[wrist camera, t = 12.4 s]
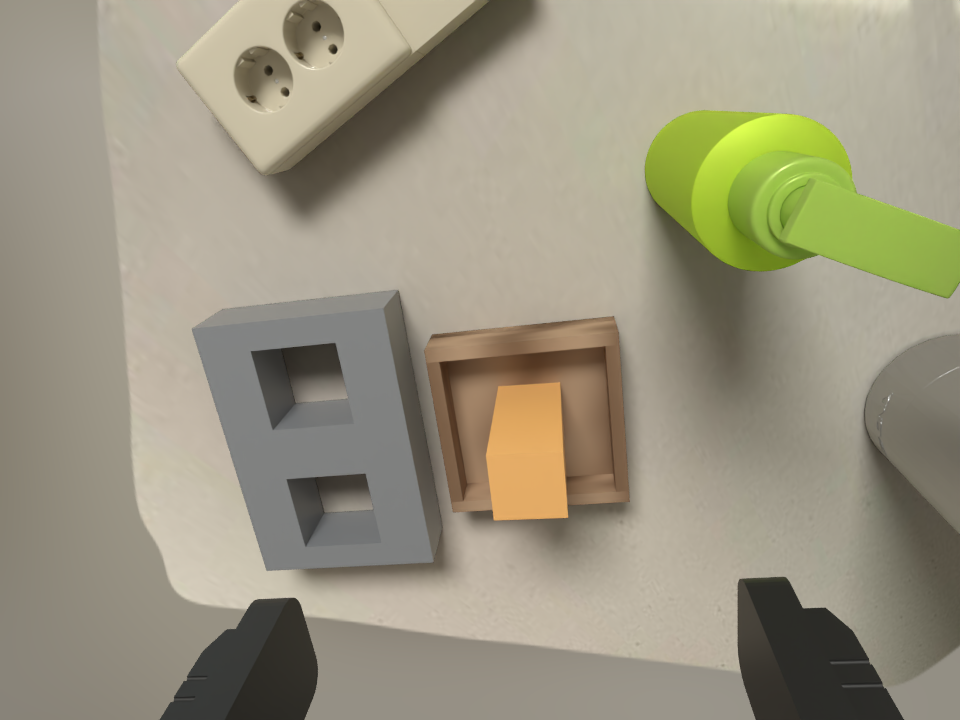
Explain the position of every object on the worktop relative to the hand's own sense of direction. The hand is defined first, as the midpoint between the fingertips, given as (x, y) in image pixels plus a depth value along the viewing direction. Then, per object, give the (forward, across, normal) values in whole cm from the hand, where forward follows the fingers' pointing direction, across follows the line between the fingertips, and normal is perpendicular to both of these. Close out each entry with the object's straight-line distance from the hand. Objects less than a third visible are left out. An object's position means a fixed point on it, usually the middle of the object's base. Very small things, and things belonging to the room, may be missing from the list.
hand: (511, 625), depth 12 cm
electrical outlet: (+31, +8, -14) cm, 35 cm away
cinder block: (+30, +15, +10) cm, 35 cm away
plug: (+29, +1, +10) cm, 31 cm away
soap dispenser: (+30, -10, -4) cm, 32 cm away
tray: (+30, +2, +10) cm, 32 cm away
